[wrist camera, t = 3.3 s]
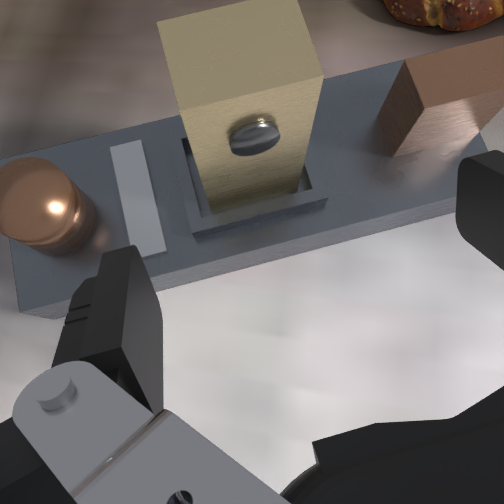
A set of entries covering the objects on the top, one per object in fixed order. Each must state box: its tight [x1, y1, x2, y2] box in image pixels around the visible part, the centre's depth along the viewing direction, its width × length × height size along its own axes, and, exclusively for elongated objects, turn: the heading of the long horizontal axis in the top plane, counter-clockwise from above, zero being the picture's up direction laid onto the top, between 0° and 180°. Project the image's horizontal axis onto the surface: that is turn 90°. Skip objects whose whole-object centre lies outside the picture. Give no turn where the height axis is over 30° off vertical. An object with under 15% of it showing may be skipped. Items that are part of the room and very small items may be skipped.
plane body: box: [0, 35, 504, 319], centre depth 22 cm, size 24×8×8 cm, turn 105°
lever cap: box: [157, 0, 324, 212], centre depth 18 cm, size 4×4×9 cm
